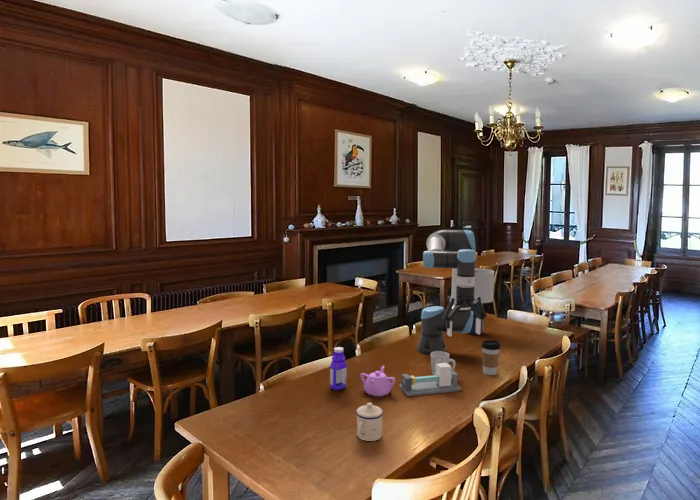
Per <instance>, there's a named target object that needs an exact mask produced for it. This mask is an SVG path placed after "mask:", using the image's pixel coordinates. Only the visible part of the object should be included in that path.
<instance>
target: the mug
mask: <svg viewBox="0 0 700 500" xmlns="http://www.w3.org/2000/svg"><path fill="white" fill-rule="evenodd" d="M450 362H451V363H452V366H451V372H455V368H456V365H457V364H456V363H457V362H456V360H455V359H453V358H450V353H449V352H447V351H446V352H443V351H434V352H431V354H430V366H431V373H432V376H433V375H435V374H436V364H438V363H448V364H449V365H450Z"/></svg>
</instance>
